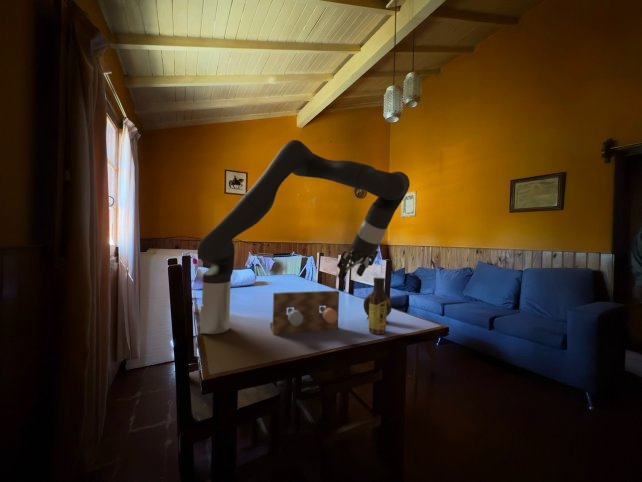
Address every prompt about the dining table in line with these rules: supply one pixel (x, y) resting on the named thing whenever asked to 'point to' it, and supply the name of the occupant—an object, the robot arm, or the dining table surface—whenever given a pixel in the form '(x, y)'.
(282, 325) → the walnut panel
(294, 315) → the slate button
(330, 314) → the terracotta button
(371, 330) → the sauce bottle
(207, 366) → the dining table surface
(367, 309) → the alarm clock
